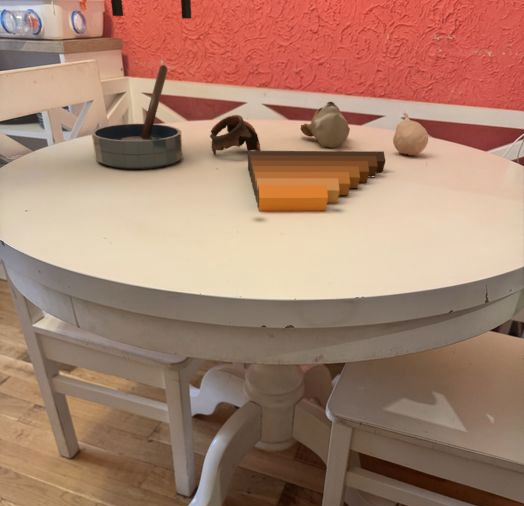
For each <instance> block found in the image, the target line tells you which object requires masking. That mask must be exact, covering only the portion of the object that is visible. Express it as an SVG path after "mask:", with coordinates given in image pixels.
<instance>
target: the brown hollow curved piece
mask: <svg viewBox="0 0 524 506" xmlns="http://www.w3.org/2000/svg"><path fill="white" fill-rule="evenodd" d="M225 129H226V131H227V132H226V133H225V134H222V135H218V134H219V133H220V132H222V131H223V130H225ZM209 138H210V139H211V151H212V153H213V155H215V156H216V155H217V151H224V150H225V149H226V150H227V149H229V148H231V147H237V148H240V147H242V146H243V145H244V144H245V145H246V150H247V152H249V151H262V150H261V143H260V140H259V136H258V132H257V131H256V129H255V128H254V126H253V125H252V124H250V122H248V121H246V120H244V119H243V117H242V116H241V115H239V114H233V115H230V116H229V115H228V116H226V117H224V118H222V119H220V121H218V122H217V123H216V124H215V125H214V126H213V127H212V128H211V130H210V135H209Z"/></svg>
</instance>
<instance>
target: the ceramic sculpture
mask: <svg viewBox="0 0 524 506" xmlns="http://www.w3.org/2000/svg"><path fill="white" fill-rule="evenodd" d="M350 130H351V128H350V127H349V124H348V121H347V119H346V118H345V116H344V115H343V114H342V112H341V110H340V108H339V106H338V105H336V104H335V102H333V101H328V102H326V104H325V105H324V106H322V107H319V108H318V109H317V110H316V111H315V112H314V114H313V117H312V118H311V122H310V123H303V124H301V125H300V131H301V133H302V134H303V135H304V136H306V137H309V138H311V137H314V139H316V140H317V141H318V143H319V145H320V146H321V147H324V148H328V149H333V148H337V147H341V146H342V145H344V144H345V142H346V141H347V139H348V137H349V135H350Z"/></svg>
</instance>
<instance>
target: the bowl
mask: <svg viewBox="0 0 524 506" xmlns="http://www.w3.org/2000/svg"><path fill="white" fill-rule="evenodd" d="M143 127H144V123H121V124H112V125H107V126H101V127H99V128H96V129H94V130H92V131H91V139H92V146H93V152H94V158H95V160H96V162H98V163H101V164H102V165H106V166H108V167H111V168H116V169H124V170H149V169H158V168H163V167H167V166H170V165H172V164H174V163H177V162H179V161H181V160H182V159H183V155H184V154H183V152H184V151H183V138H182V137H183V135H182V131H181V130H180V129H179V128H178V127H175V126H171V125H165V124H159V123H157V124H156V123H153V127H152V130H151V134H150V137H152V138H155V140H142V141H124V140H121V139H123V138H126V137H133V136H141V134H142V130H143Z"/></svg>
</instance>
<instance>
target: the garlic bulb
mask: <svg viewBox="0 0 524 506" xmlns="http://www.w3.org/2000/svg"><path fill="white" fill-rule="evenodd" d="M402 114H403V116H404V120H402V121H400V122H399V123H398V124H397V125H396V127H395V132H394V135H393V138H392V143H393V146H394V149H395V150H396V151H397V152H398V153H400V154H403V153H404V154H403V155H406V154H408V155H407V156H412V155H413V156H417V155H419V154H421V153H422V152H423V151H424V150H425V149H426V147H427V145H428V143H429V134H428V131H427V130H426V128H425V127H424V126H423V125H422V124H421V123H420V122H418V121H416V120H411V119H410V117H409V114H407V112H406V111H403V112H402Z"/></svg>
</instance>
